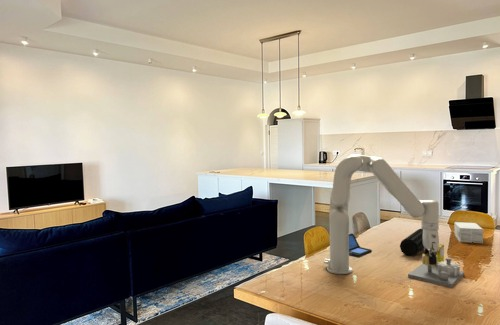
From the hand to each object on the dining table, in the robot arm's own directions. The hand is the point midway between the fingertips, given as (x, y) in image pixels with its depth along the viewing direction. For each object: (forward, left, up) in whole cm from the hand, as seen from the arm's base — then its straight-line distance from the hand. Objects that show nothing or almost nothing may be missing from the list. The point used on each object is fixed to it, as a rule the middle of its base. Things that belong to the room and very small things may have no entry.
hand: (430, 261), depth 178 cm
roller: (-20, +41, -7) cm, 46 cm away
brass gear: (0, 0, -1) cm, 1 cm away
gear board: (+3, 0, -6) cm, 7 cm away
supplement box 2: (-3, +82, -7) cm, 82 cm away
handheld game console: (-45, +10, -7) cm, 46 cm away
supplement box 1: (-2, +16, -7) cm, 17 cm away
